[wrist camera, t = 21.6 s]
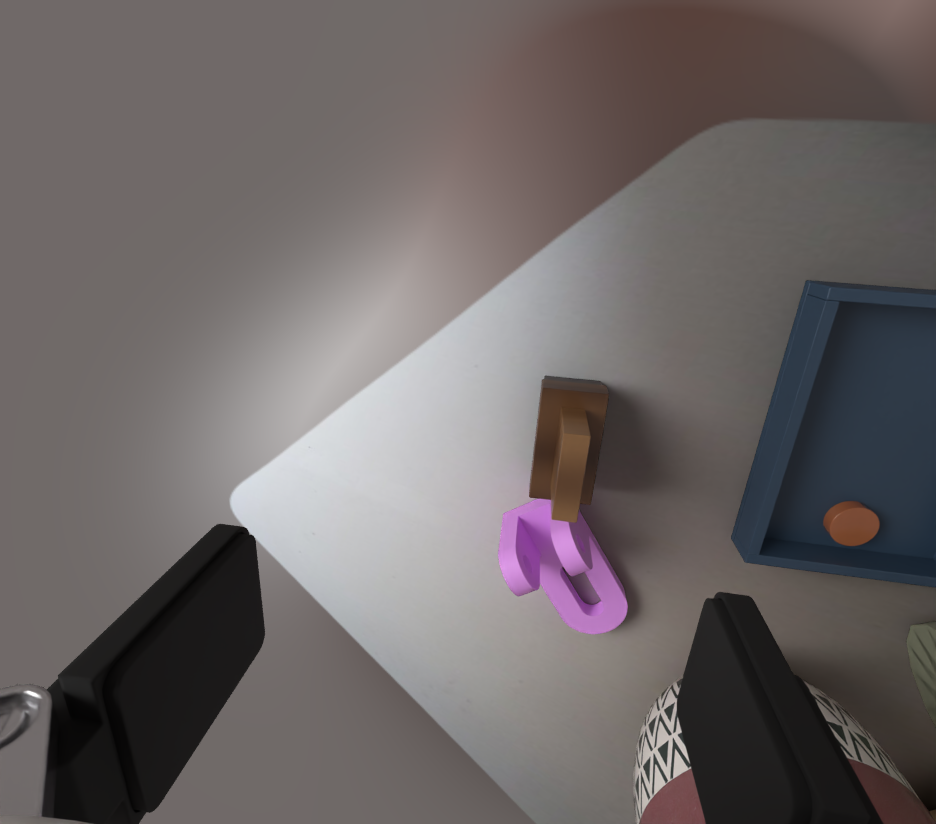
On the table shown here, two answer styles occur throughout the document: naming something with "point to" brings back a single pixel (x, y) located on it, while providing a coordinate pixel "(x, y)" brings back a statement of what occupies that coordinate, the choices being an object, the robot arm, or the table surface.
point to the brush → (568, 443)
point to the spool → (924, 663)
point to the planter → (675, 794)
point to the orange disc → (851, 523)
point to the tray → (849, 437)
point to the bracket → (560, 566)
